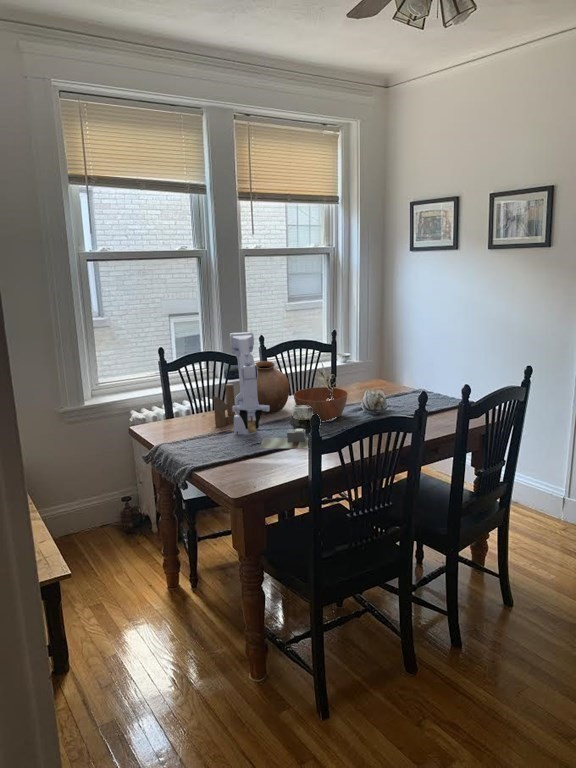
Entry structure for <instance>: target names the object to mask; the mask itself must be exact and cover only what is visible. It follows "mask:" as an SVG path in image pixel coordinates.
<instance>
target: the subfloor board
mask: <svg viewBox="0 0 576 768" xmlns="http://www.w3.org/2000/svg"><path fill="white" fill-rule="evenodd" d="M308 438H309V437H306V439H305V442H287V437H283V438H282V437H264V438H263V439H262V441H261V444H260V446H259V449H309V448H308Z"/></svg>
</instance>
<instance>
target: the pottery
mask: <svg viewBox="0 0 576 768" xmlns="http://www.w3.org/2000/svg"><path fill="white" fill-rule="evenodd" d="M254 363H255V364H256V366H257V369H258V379H257V378H256V380H257V394H258V403H259V405H269V407H270V410H269V411H263V412H262V415H270V414H275V413H279V412H280V411H282V410H283V409H284V408H285V406H286V404H287V402H288V400H289V396H290V395H289V394H290V383H289V382H290V381H289V379H288V377H287V376H286V375H285V374H284V373H283V372H282V371H280V370H279V369H278V368H275V367H276V366H275V363H274V362H272V361H269V360H262V361H257V362H254Z"/></svg>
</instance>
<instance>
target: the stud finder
mask: <svg viewBox="0 0 576 768" xmlns="http://www.w3.org/2000/svg"><path fill="white" fill-rule="evenodd" d="M286 438H287V442H305V439H306V438H307V437H306V428H295V429H294V428H293V429H292V428H291V429H287V431H286Z"/></svg>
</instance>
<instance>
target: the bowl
mask: <svg viewBox="0 0 576 768" xmlns="http://www.w3.org/2000/svg"><path fill="white" fill-rule="evenodd" d="M332 388H333V398H334V400H330V401H326V399H327V398H329V399H331V395H330V391H329V390H328V388H327V386H321V387H320V386H319V387H308V388H303V389H300V390H298V391H295V392H294V393H293V398H294V399H293V400H294V403H295V406H296V405H309V406H311V407H312V408H313V414H318V415H319V417H320V419H321V422H320V423H323V422H322V421H326V420H329V419H332V418H335V417H339V416H340V417H341V416H342V415H343V412H344V411H345V407H346V404H347V401H348V394H349V393H348V391H346V390H345V389H341V388H339V387H337V388H336V387H332ZM340 417H339V418H340Z"/></svg>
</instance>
